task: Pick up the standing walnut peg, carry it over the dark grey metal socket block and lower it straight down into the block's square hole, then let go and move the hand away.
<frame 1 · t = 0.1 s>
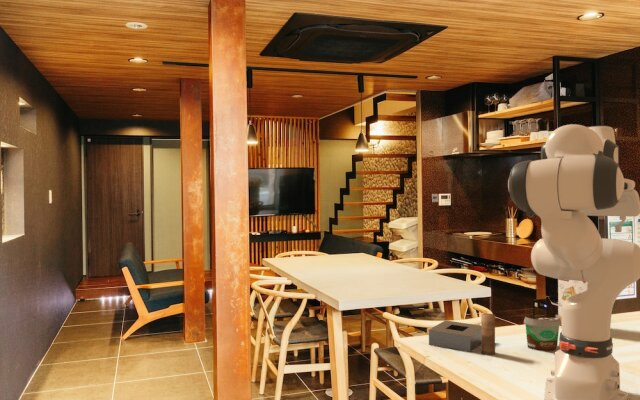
hand: (599, 231, 151), 39 cm above the table, tool pointing down, fingers open, 8 cm apart
walnut peg: (488, 353, 164), on the table
cracker box: (578, 329, 189), on the table
food container: (546, 349, 167), on the table
socket block: (457, 342, 175), on the table
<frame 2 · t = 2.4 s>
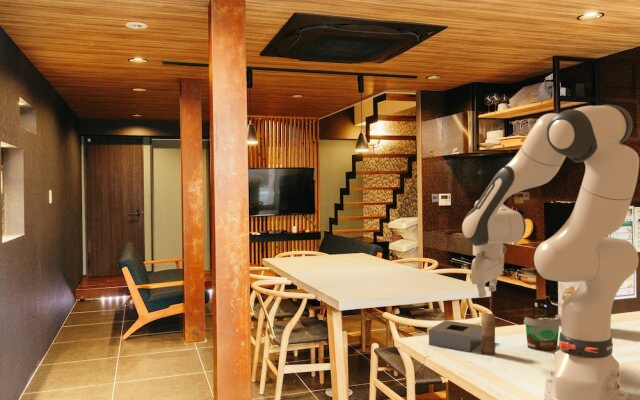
hand: (487, 293, 164), 19 cm above the table, tool pointing down, fingers open, 8 cm apart
nothing on the table moved.
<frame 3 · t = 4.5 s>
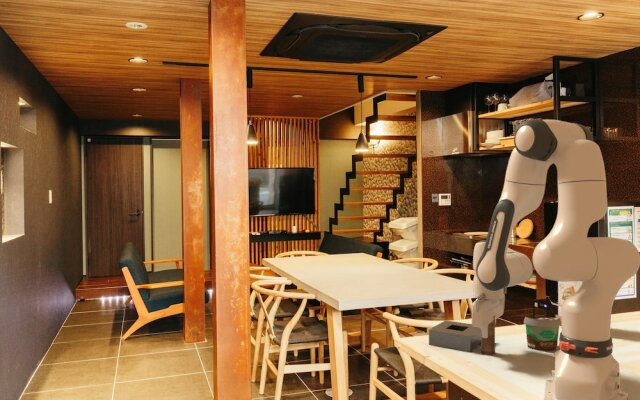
hand: (488, 335, 164), 6 cm above the table, tool pointing down, fingers closed on walnut peg, 4 cm apart
walnut peg: (488, 353, 164), on the table, touching gripper
everything else where it was.
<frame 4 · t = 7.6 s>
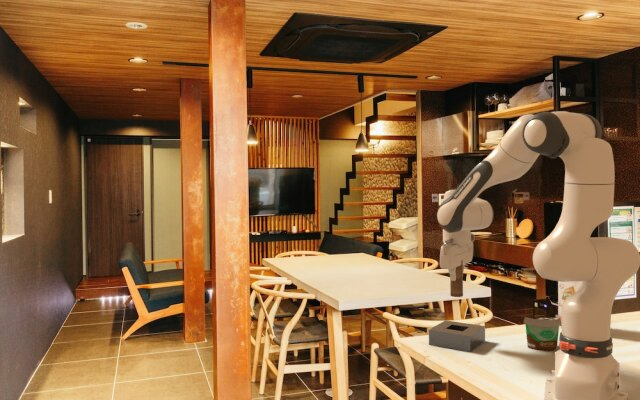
hand: (456, 279, 175), 21 cm above the table, tool pointing down, fingers closed on walnut peg, 4 cm apart
walnut peg: (456, 295, 175), point 16 cm above the table, touching gripper
everything else where it was.
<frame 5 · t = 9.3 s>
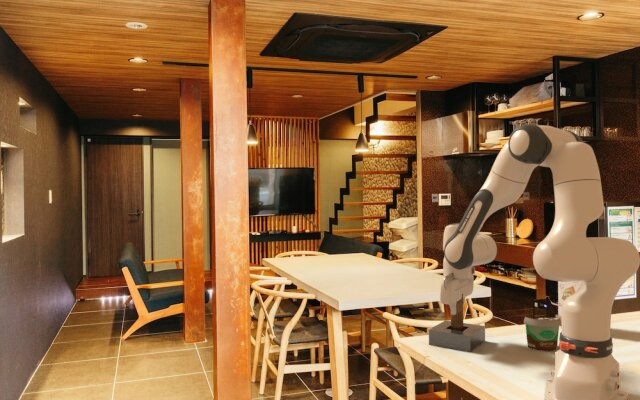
hand: (457, 312, 175), 10 cm above the table, tool pointing down, fingers closed on walnut peg, 4 cm apart
walnut peg: (457, 329, 175), point 4 cm above the table, touching gripper
everything else where it was.
when the fingers open (7 cm above the table, at t = 10.7 s): walnut peg stays where it is, resting in socket block.
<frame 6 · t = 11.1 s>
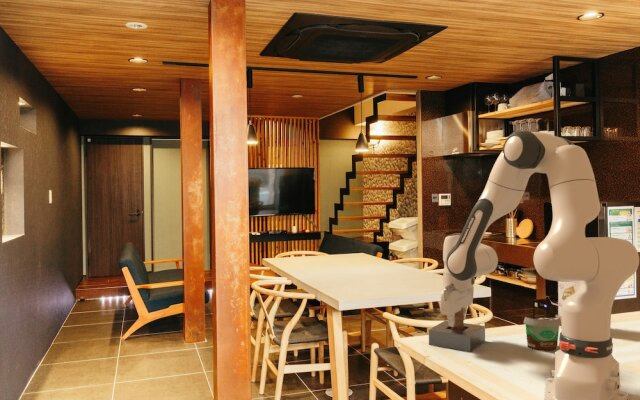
hand: (457, 323, 175), 7 cm above the table, tool pointing down, fingers open, 8 cm apart
walnut peg: (457, 342, 175), resting in socket block
everything else where it was.
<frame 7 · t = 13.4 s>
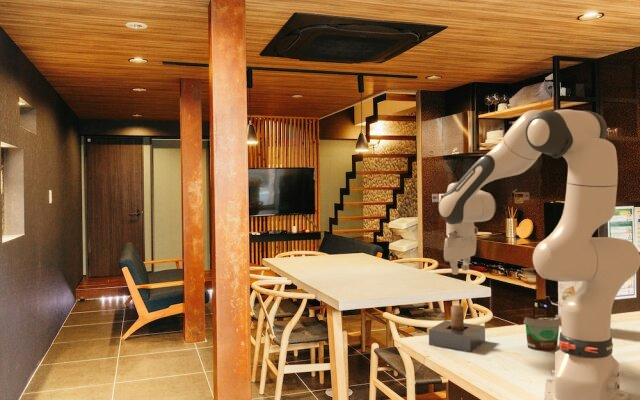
hand: (460, 272, 175), 24 cm above the table, tool pointing down, fingers open, 8 cm apart
nothing on the table moved.
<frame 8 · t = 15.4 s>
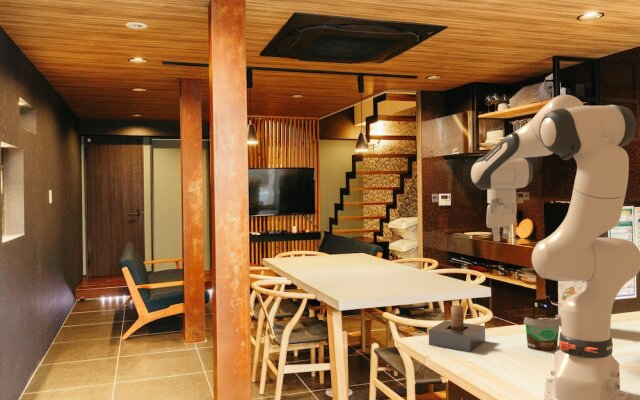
hand: (501, 239, 175), 34 cm above the table, tool pointing down, fingers open, 8 cm apart
nothing on the table moved.
at the end: walnut peg 0.0 cm off-centre on the socket block, point 0.0 cm above the socket block's base; walnut peg tilted 0°; the gripper is holding nothing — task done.
